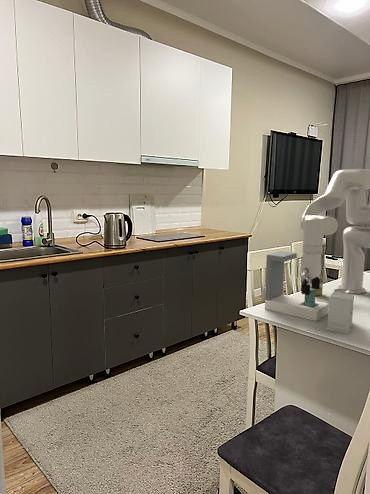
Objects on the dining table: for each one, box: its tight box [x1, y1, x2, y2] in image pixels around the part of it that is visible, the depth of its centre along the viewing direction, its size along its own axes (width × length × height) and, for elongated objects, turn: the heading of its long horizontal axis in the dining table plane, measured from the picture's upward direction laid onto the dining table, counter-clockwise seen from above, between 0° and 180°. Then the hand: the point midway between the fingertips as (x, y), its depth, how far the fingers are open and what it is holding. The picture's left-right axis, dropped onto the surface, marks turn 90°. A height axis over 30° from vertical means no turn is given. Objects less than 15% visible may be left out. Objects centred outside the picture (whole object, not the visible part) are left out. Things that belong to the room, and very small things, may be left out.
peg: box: [304, 288, 316, 308], centre depth 149 cm, size 4×4×10 cm
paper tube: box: [309, 241, 326, 297], centre depth 176 cm, size 7×7×25 cm
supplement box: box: [326, 291, 355, 335], centre depth 132 cm, size 7×7×13 cm
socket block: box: [264, 250, 329, 322], centre depth 151 cm, size 12×22×23 cm, turn 49°
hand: (310, 291), depth 148 cm, fingers open, 9 cm apart
